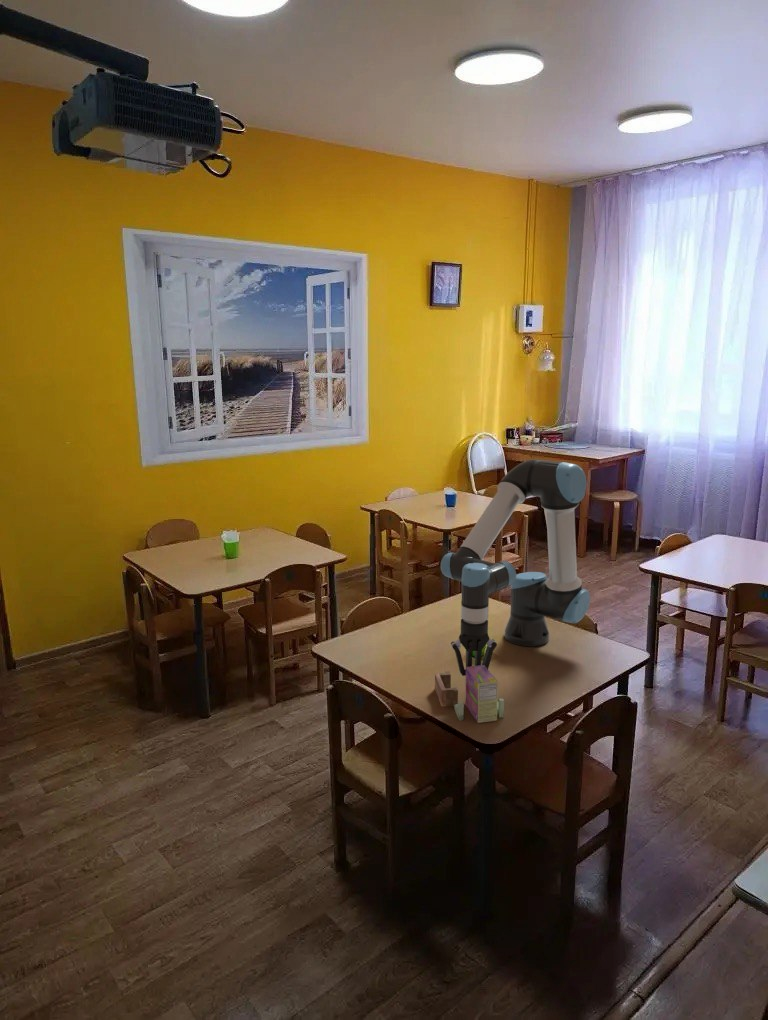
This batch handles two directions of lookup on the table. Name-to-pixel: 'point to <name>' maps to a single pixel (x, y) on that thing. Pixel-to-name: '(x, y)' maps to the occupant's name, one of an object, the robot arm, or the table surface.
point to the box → (481, 693)
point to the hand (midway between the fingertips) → (472, 696)
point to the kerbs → (460, 709)
